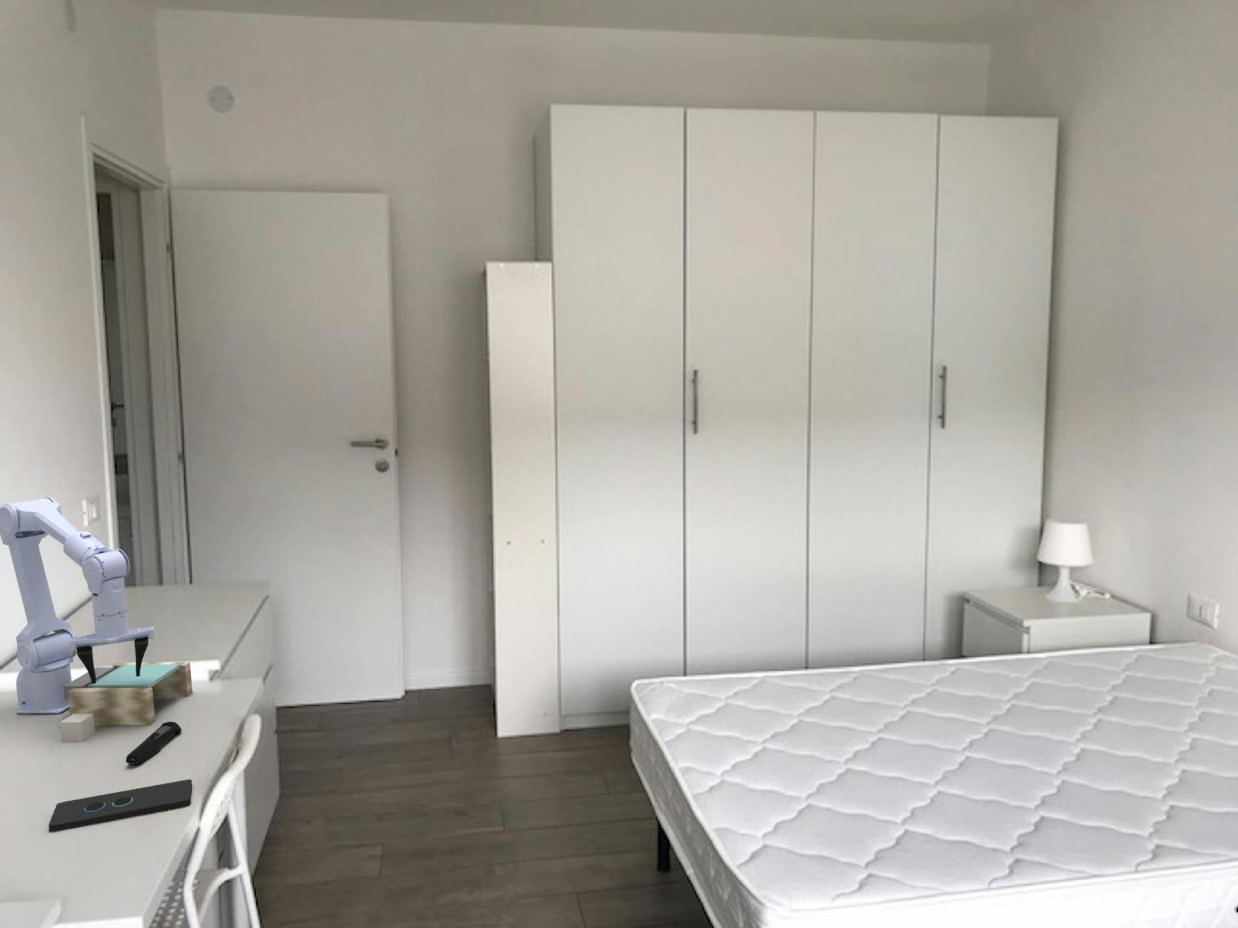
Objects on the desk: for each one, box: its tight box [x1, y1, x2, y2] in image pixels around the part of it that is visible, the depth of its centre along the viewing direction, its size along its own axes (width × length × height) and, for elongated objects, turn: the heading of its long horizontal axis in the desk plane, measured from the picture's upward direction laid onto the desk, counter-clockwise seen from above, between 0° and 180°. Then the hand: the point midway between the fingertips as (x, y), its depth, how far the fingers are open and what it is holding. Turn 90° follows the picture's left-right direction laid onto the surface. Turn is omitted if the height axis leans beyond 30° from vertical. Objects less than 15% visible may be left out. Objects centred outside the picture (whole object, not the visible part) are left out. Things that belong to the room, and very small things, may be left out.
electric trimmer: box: [125, 721, 182, 764], centre depth 170 cm, size 4×16×3 cm, turn 179°
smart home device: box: [48, 779, 193, 833], centre depth 149 cm, size 8×2×20 cm
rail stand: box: [68, 661, 193, 726], centre depth 190 cm, size 17×17×7 cm
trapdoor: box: [63, 664, 180, 700], centre depth 190 cm, size 18×12×4 cm, turn 88°
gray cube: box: [59, 714, 96, 743], centre depth 176 cm, size 4×4×4 cm
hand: (116, 678), depth 181 cm, fingers open, 7 cm apart
